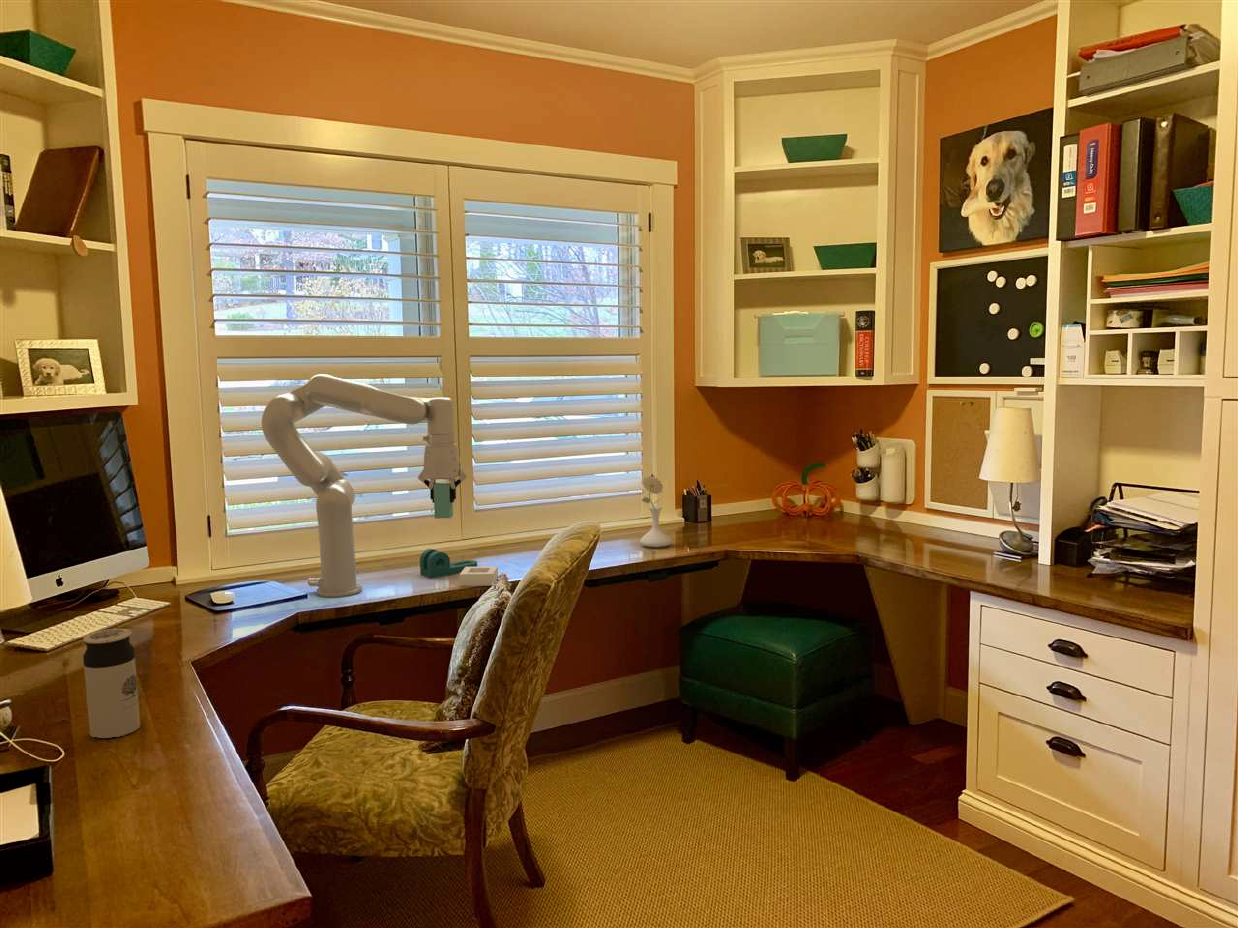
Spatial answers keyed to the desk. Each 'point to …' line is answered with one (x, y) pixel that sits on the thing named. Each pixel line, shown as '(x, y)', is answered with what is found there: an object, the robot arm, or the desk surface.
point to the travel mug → (111, 683)
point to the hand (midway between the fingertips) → (443, 501)
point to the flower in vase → (654, 516)
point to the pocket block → (478, 576)
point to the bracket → (441, 564)
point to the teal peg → (442, 500)
